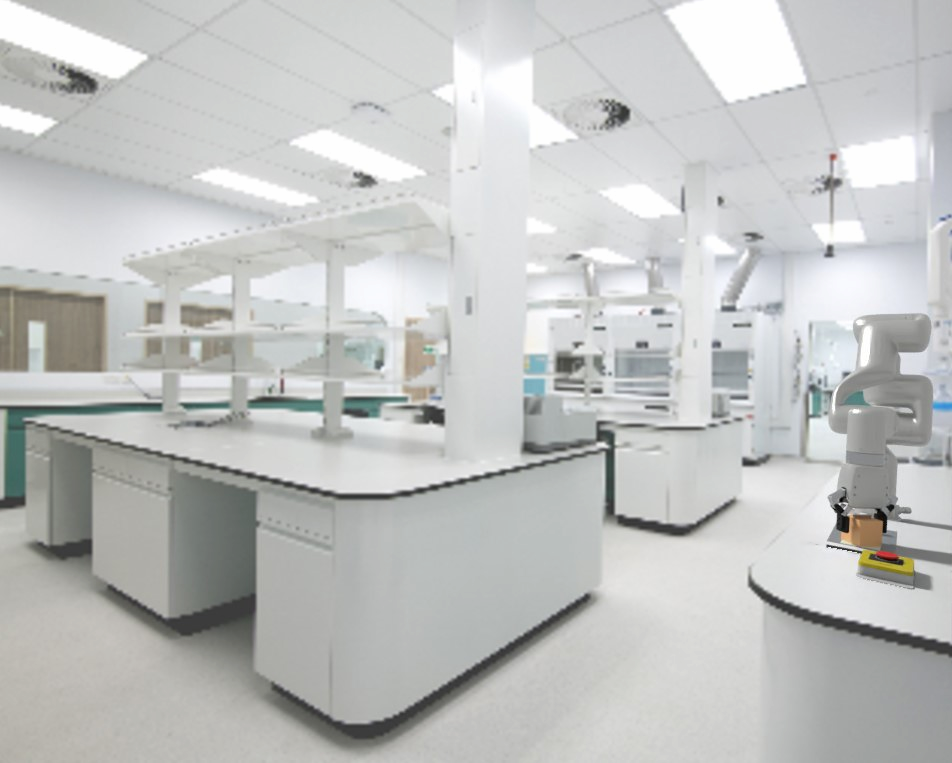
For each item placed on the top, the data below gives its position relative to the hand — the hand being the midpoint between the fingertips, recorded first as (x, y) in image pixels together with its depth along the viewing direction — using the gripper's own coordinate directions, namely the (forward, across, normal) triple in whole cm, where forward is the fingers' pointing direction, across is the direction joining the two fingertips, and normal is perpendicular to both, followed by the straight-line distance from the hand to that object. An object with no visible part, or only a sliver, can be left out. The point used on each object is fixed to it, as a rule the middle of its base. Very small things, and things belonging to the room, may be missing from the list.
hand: (861, 531), depth 130 cm
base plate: (+4, -6, -6) cm, 9 cm away
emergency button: (+5, +8, +15) cm, 18 cm away
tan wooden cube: (+3, 0, 0) cm, 3 cm away
